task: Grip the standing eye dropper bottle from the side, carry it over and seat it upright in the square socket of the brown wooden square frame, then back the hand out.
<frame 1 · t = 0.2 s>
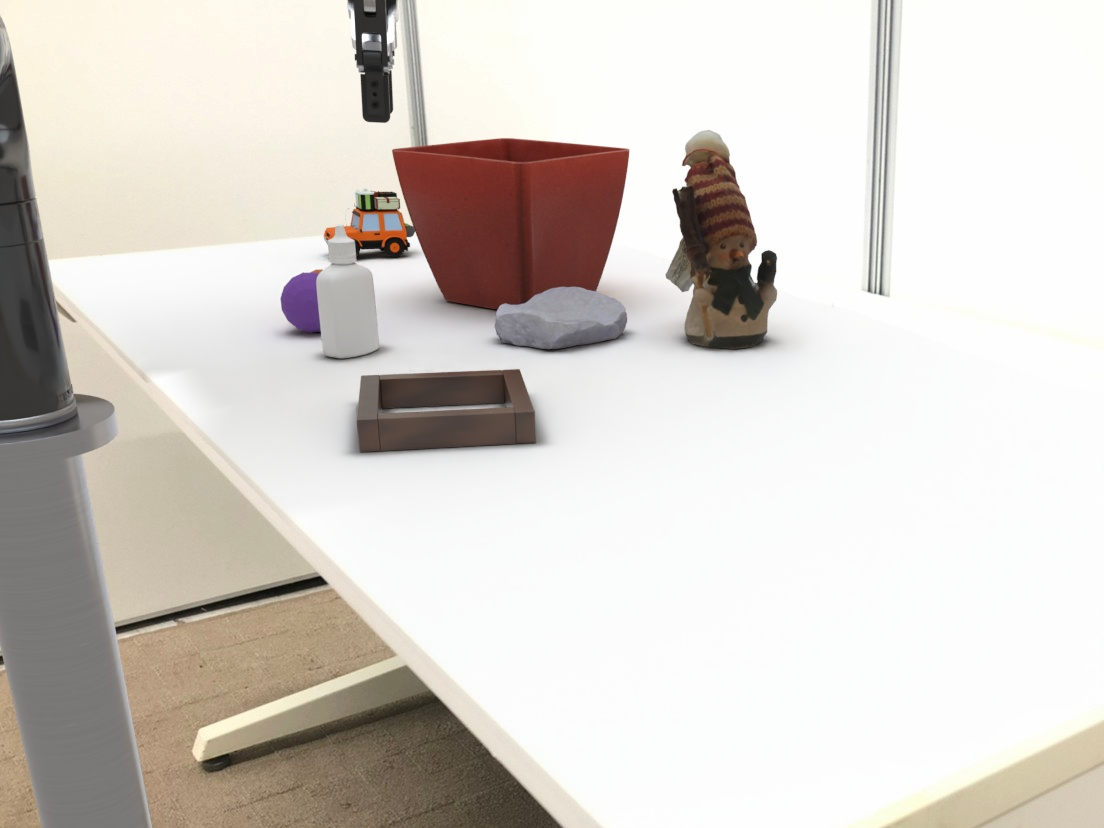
hand: (378, 117, 109), 22 cm above the table, tool pointing down, fingers open, 8 cm apart
purple maraca: (318, 318, 136), on the table
toy car: (372, 256, 172), on the table
flower pot: (520, 301, 146), on the table
eye dropper bottle: (352, 354, 122), on the table
stone block: (567, 340, 129), on the table
figurine: (714, 339, 131), on the table
brown wooden square frame: (446, 422, 101), on the table
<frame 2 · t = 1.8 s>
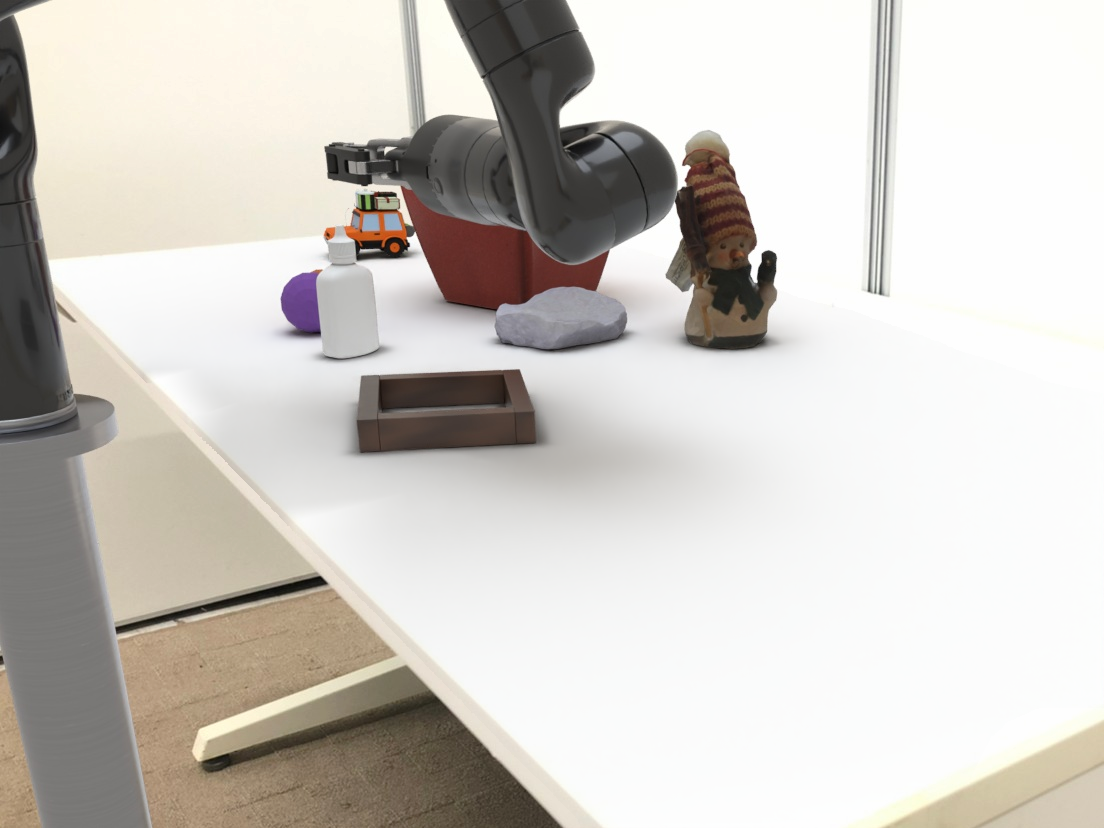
hand: (384, 153, 106), 19 cm above the table, tool horizontal, fingers open, 8 cm apart
nothing on the table moved.
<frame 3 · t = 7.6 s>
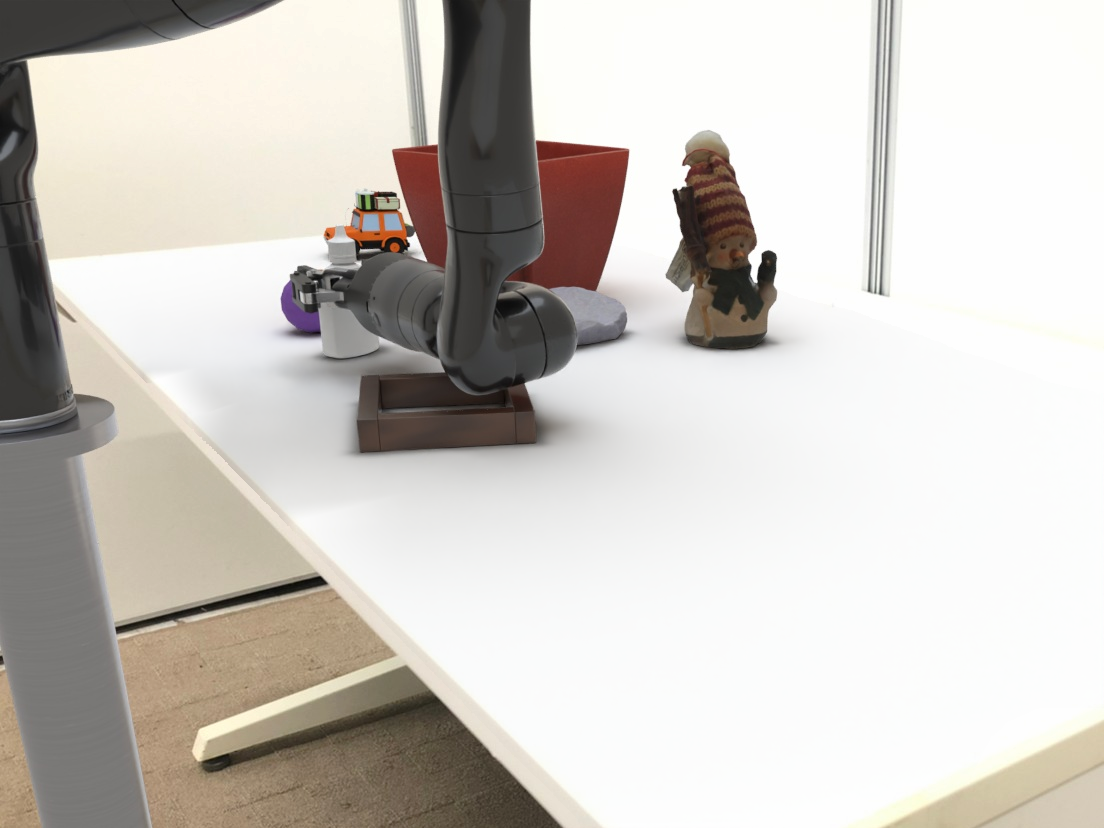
hand: (333, 273, 121), 7 cm above the table, tool horizontal, fingers closed on eye dropper bottle, 5 cm apart
eye dropper bottle: (352, 354, 122), on the table, touching gripper
everything else where it was.
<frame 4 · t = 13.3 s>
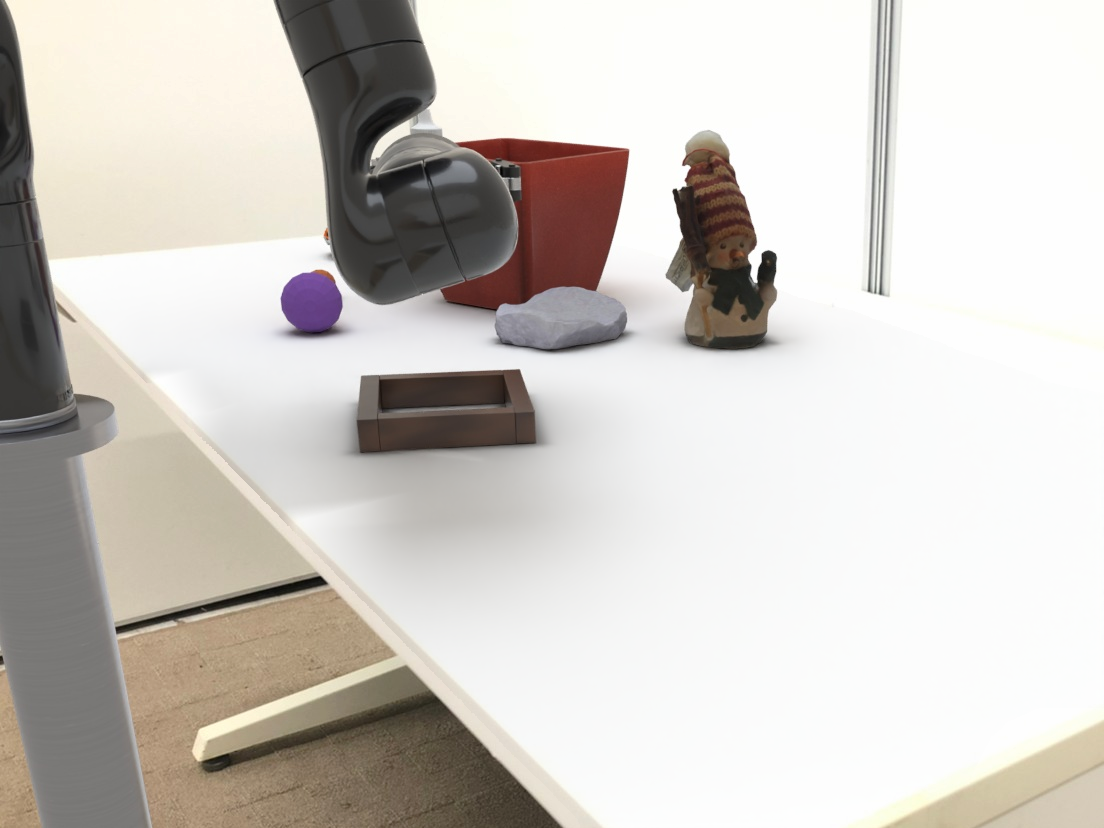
hand: (429, 170, 102), 18 cm above the table, tool horizontal, fingers closed on eye dropper bottle, 5 cm apart
eye dropper bottle: (435, 268, 103), point 11 cm above the table, touching gripper
everything else where it was.
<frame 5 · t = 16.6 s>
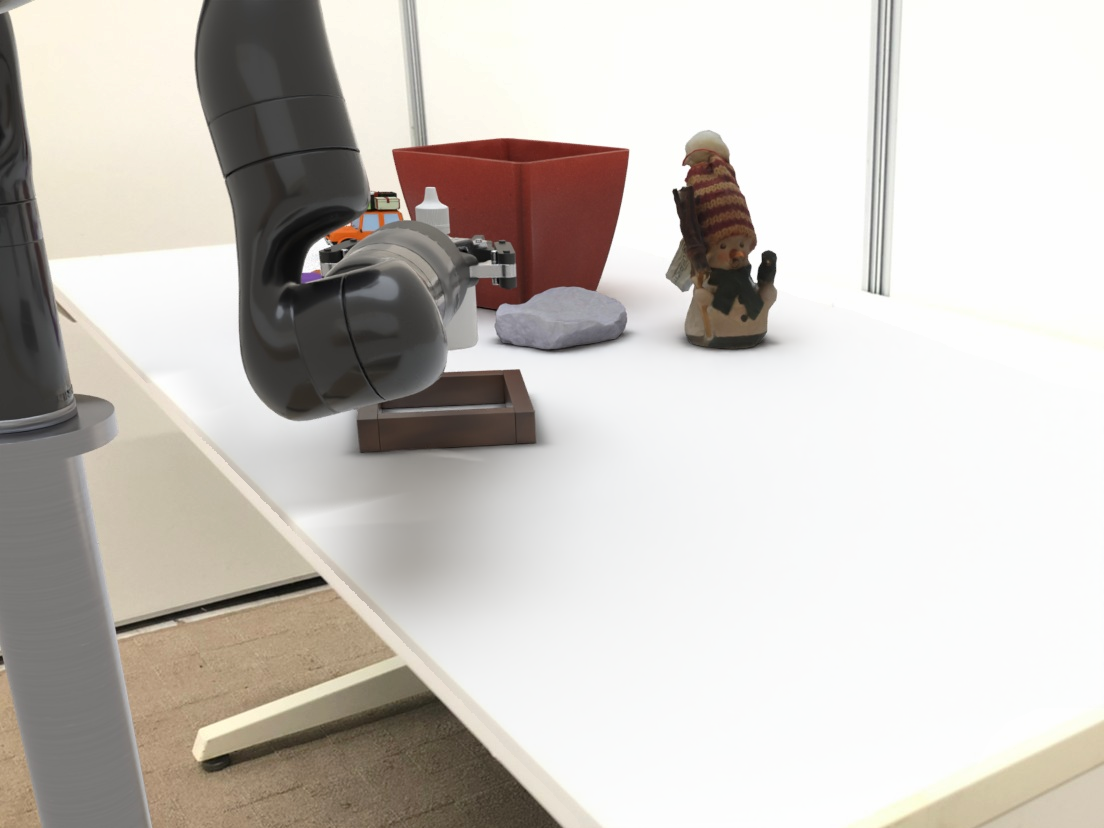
hand: (439, 248, 98), 13 cm above the table, tool horizontal, fingers closed on eye dropper bottle, 5 cm apart
eye dropper bottle: (441, 349, 99), point 6 cm above the table, touching gripper
everything else where it was.
when the fingers open (7 cm above the table, at t = 19.3 s): eye dropper bottle stays where it is, resting in brown wooden square frame.
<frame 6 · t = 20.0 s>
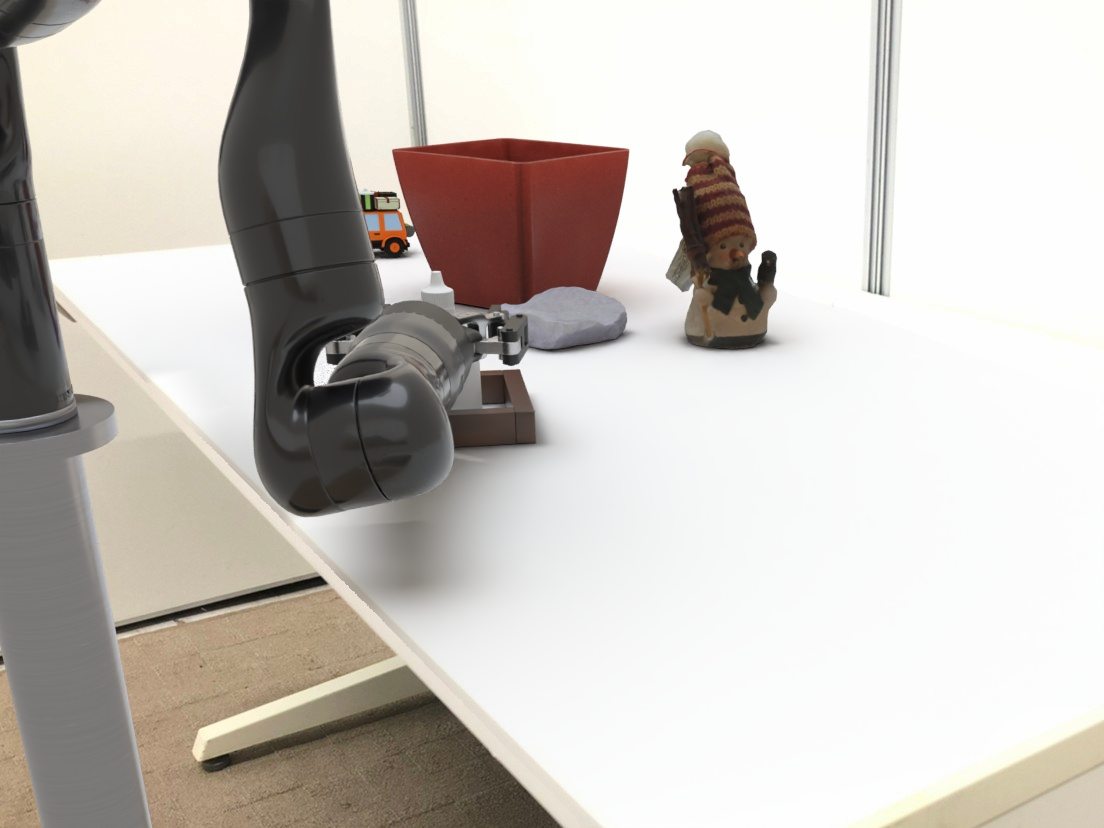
hand: (442, 317, 100), 8 cm above the table, tool horizontal, fingers open, 8 cm apart
eye dropper bottle: (446, 425, 101), resting in brown wooden square frame
everything else where it was.
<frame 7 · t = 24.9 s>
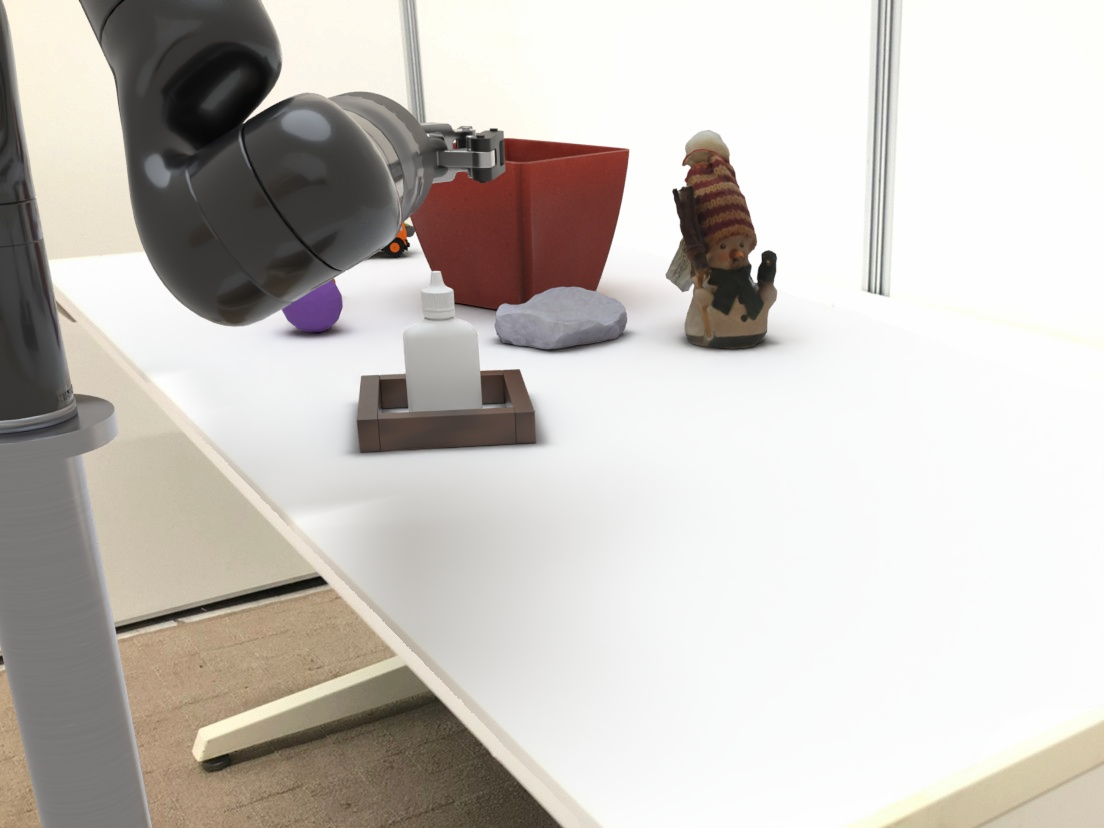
hand: (402, 141, 83), 22 cm above the table, tool horizontal, fingers open, 8 cm apart
nothing on the table moved.
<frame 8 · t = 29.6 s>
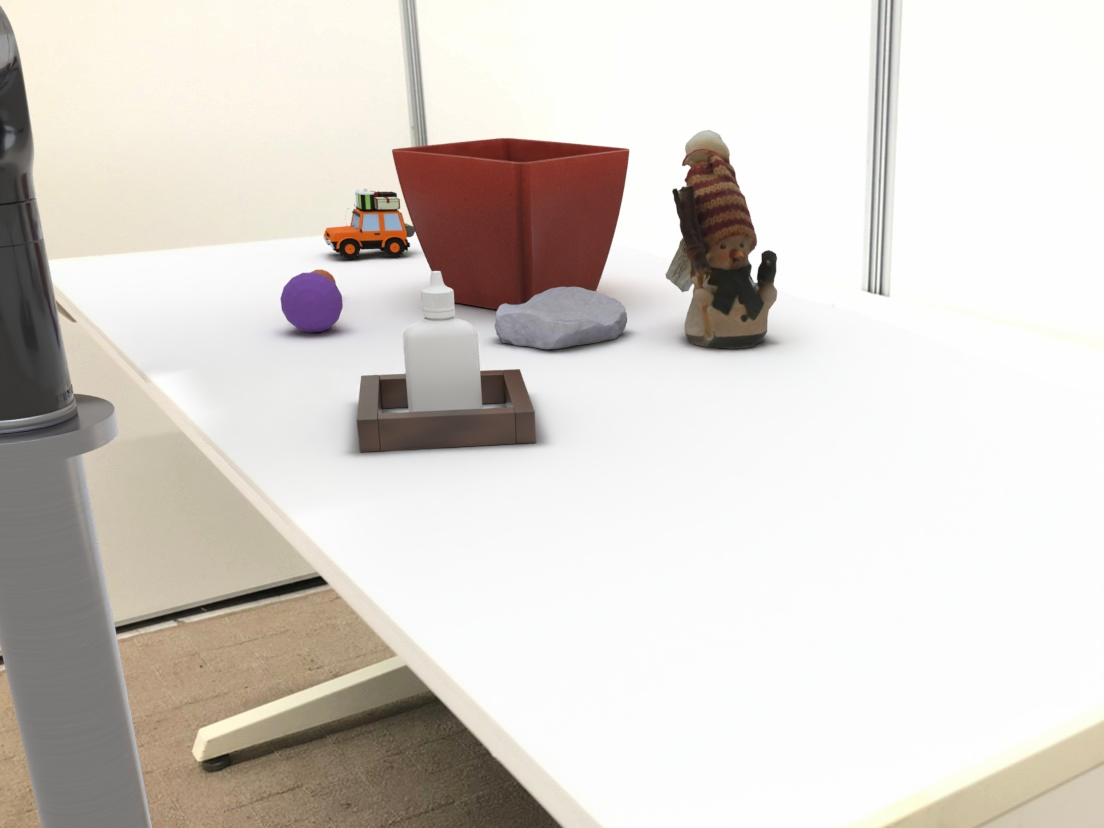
nothing on the table moved.
at the end: eye dropper bottle 0.1 cm off-centre in the brown wooden square frame, point 0.0 cm above the brown wooden square frame's base; eye dropper bottle tilted 0°; the gripper is holding nothing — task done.
